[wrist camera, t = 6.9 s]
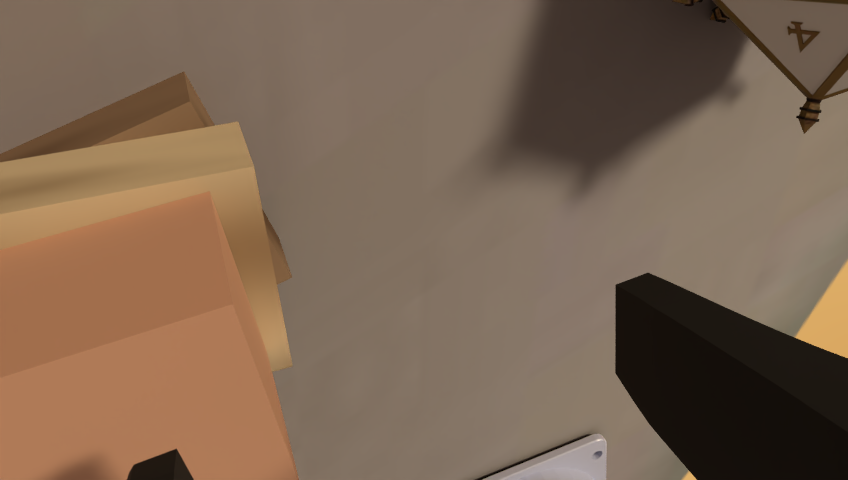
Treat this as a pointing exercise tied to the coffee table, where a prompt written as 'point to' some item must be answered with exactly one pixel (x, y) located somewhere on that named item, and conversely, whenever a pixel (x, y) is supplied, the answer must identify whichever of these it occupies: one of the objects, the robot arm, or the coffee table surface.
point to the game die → (796, 43)
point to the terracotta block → (135, 353)
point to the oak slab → (152, 202)
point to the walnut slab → (140, 133)
